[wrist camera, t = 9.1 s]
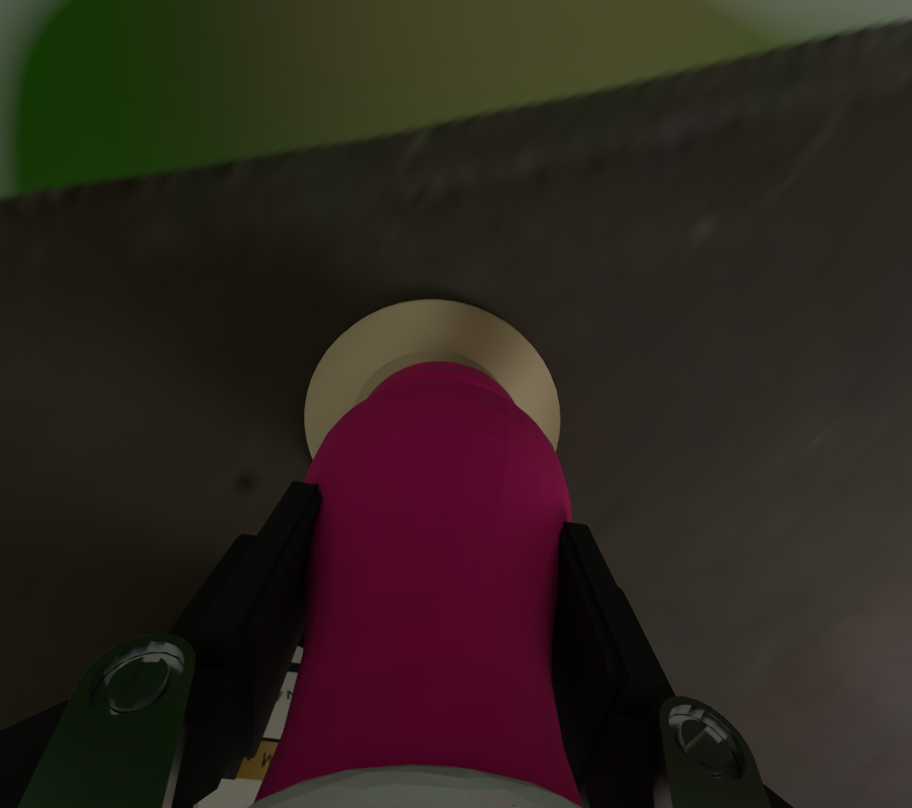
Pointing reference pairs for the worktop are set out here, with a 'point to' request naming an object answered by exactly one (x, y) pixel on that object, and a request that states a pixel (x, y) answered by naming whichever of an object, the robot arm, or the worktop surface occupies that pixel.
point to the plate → (425, 340)
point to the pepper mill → (429, 607)
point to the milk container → (238, 794)
